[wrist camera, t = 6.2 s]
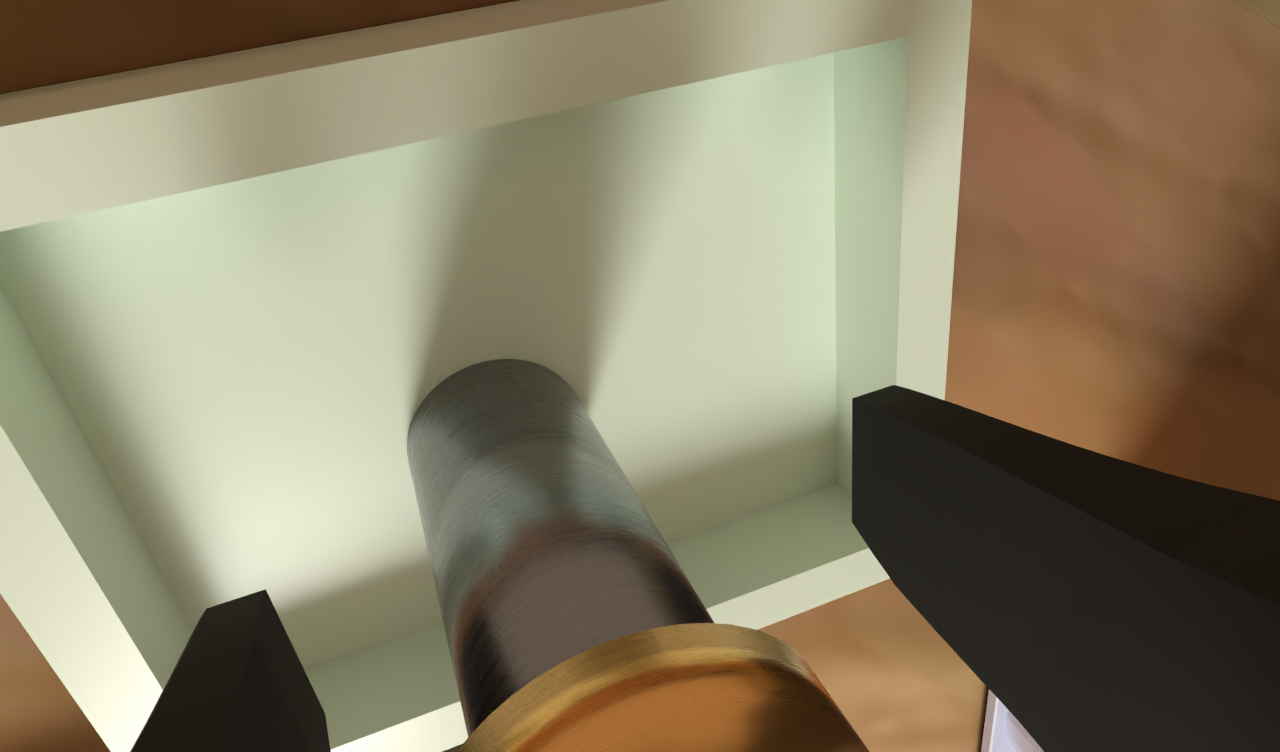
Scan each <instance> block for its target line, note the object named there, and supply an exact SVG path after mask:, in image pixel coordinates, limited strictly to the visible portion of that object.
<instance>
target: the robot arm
mask: <svg viewBox="0 0 1280 752" xmlns="http://www.w3.org/2000/svg"><path fill="white" fill-rule="evenodd" d="M852 523H853V525H854V526H855V528H856V529H857V531H858V532H859V534H860V535H861V537H862V538H863V540H864V541H865V543H866V544H867V546H868V547H869V549H870V550H871V552H872V553H873V555H874V556H875V558H876V559H877V560H878V562H879V563H880V565H881V566H882V567H883V569H884V570H885V572H886V573H887V574H888V576H889V577H890V579H891V580H892V581H893V583H894V584H895V585H896V586H897V588H898V589H899V590H900V591H901V592H902V593H903V595H904V596H905V597H906V598H907V599H908V600H909V601H910V602H911V604H912V605H913V606H914V607H915V608H916V609H917V610H918V611H919V612H920V614H921V615H922V616H923V617H924V618H925V619H926V620H927V621H928V622H929V624H930V625H931V626H932V627H933V628H934V629H935V630H936V631H937V633H938V634H939V635H940V636H941V637H942V638H943V639H944V640H945V641H946V642H947V643H948V645H949V646H950V647H951V648H952V649H953V650H954V651H955V652H956V653H957V654H958V655H959V657H960V658H961V659H962V660H963V661H964V662H965V663H966V664H967V665H968V666H969V667H970V669H971V670H972V671H973V672H974V673H975V674H976V675H977V676H978V677H979V678H980V680H981V681H982V682H983V683H984V684H985V685H986V686H987V687H988V688H989V693H988V701H987V709H986V716H985V724H984V732H983V740H982V748H981V752H1280V501H1277V500H1273V499H1268V498H1264V497H1260V496H1255V495H1251V494H1247V493H1242V492H1238V491H1234V490H1230V489H1225V488H1221V487H1217V486H1212V485H1208V484H1204V483H1200V482H1196V481H1192V480H1189V479H1185V478H1181V477H1177V476H1173V475H1170V474H1166V473H1163V472H1159V471H1156V470H1153V469H1149V468H1146V467H1142V466H1139V465H1136V464H1132V463H1129V462H1126V461H1122V460H1119V459H1115V458H1112V457H1109V456H1105V455H1102V454H1099V453H1096V452H1093V451H1090V450H1087V449H1084V448H1080V447H1077V446H1074V445H1071V444H1068V443H1065V442H1062V441H1059V440H1056V439H1053V438H1050V437H1048V436H1045V435H1042V434H1039V433H1036V432H1033V431H1030V430H1027V429H1024V428H1021V427H1019V426H1016V425H1013V424H1010V423H1007V422H1004V421H1001V420H999V419H996V418H993V417H990V416H987V415H985V414H982V413H979V412H976V411H973V410H970V409H968V408H965V407H962V406H959V405H956V404H953V403H950V402H948V401H945V400H942V399H939V398H936V397H933V396H930V395H927V394H924V393H921V392H917V391H914V390H911V389H907V388H904V387H900V386H897V385H891V386H888V387H885V388H882V389H879V390H876V391H873V392H870V393H867V394H864V395H861V396H858V397H855V398H852ZM130 752H331V751H330V744H329V737H328V730H327V723H326V716H325V712H324V710H323V708H322V706H321V704H320V702H319V700H318V698H317V696H316V693H315V691H314V689H313V687H312V685H311V683H310V681H309V679H308V677H307V675H306V673H305V670H304V668H303V666H302V664H301V662H300V660H299V658H298V656H297V654H296V652H295V649H294V647H293V645H292V643H291V641H290V639H289V637H288V635H287V633H286V631H285V629H284V626H283V624H282V622H281V620H280V618H279V616H278V614H277V612H276V610H275V608H274V605H273V603H272V601H271V599H270V597H269V595H268V593H267V591H266V589H265V590H262V591H259V592H256V593H253V594H249V595H246V596H243V597H240V598H237V599H234V600H231V601H228V602H225V603H222V604H219V605H216V606H213V607H210V608H206V610H205V612H204V613H203V615H202V616H201V618H200V620H199V621H198V623H197V625H196V627H195V629H194V631H193V633H192V635H191V637H190V639H189V640H188V642H187V644H186V646H185V648H184V650H183V652H182V654H181V656H180V658H179V660H178V662H177V664H176V666H175V668H174V670H173V672H172V674H171V676H170V678H169V680H168V682H167V684H166V686H165V688H164V689H163V691H162V693H161V695H160V697H159V699H158V701H157V703H156V705H155V707H154V709H153V710H152V712H151V714H150V716H149V718H148V720H147V722H146V724H145V726H144V728H143V729H142V731H141V733H140V735H139V737H138V738H137V740H136V742H135V744H134V746H133V747H132V749H131V751H130Z"/></svg>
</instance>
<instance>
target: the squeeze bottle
mask: <svg viewBox="0 0 1280 752" xmlns="http://www.w3.org/2000/svg"><path fill="white" fill-rule="evenodd" d="M1232 1H1233V2H1235V3H1237V4H1239V5H1240V6H1242V7H1244V8H1246V9H1247V10H1249V11H1251V12H1252V13H1254V14H1256V15H1258V16H1259V17H1261V18H1263V19H1265V20H1266V21H1268V22H1270V23H1272V24H1273V25H1275V26H1277V27H1279V28H1280V0H1232Z"/></svg>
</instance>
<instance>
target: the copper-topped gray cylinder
mask: <svg viewBox="0 0 1280 752" xmlns="http://www.w3.org/2000/svg"><path fill="white" fill-rule="evenodd" d="M407 456H408V462H409V467H410V471H411V476H412V480H413V485H414V490H415V494H416V499H417V504H418V508H419V513H420V517H421V522H422V527H423V531H424V536H425V540H426V545H427V550H428V554H429V559H430V564H431V568H432V573H433V577H434V582H435V587H436V591H437V596H438V600H439V605H440V610H441V614H442V619H443V624H444V628H445V633H446V637H447V642H448V647H449V651H450V656H451V660H452V665H453V670H454V674H455V679H456V684H457V688H458V693H459V697H460V702H461V707H462V711H463V716H464V720H465V725H466V730H467V734H468V738H467V739H466V741H465V742H464V744H463V745H462V746H461V748H460V749H459V750H458V752H869V751H868V749H867V748H866V746H865V745H864V743H863V742H862V741H861V739H860V738H859V736H858V735H857V733H856V732H855V731H854V729H853V728H852V726H851V725H850V723H849V722H848V720H847V719H846V718H845V716H844V715H843V713H842V712H841V710H840V709H839V708H838V706H837V705H836V703H835V702H834V700H833V699H832V698H831V696H830V695H829V693H828V692H827V690H826V689H825V688H824V686H823V685H822V683H821V682H820V680H819V679H818V678H817V676H816V675H815V673H814V672H813V670H812V669H811V668H810V666H809V665H808V664H807V662H806V661H805V660H804V658H803V657H802V656H800V655H799V654H798V653H797V652H796V651H795V650H794V649H792V648H791V647H790V646H789V645H787V644H785V643H784V642H782V641H780V640H778V639H777V638H775V637H773V636H771V635H768V634H765V633H763V632H760V631H757V630H755V629H751V628H746V627H741V626H736V625H731V624H717V623H714V621H713V620H712V618H711V616H710V615H709V613H708V611H707V610H706V608H705V606H704V605H703V603H702V601H701V600H700V598H699V597H698V595H697V593H696V592H695V590H694V588H693V587H692V585H691V583H690V582H689V580H688V578H687V577H686V575H685V573H684V572H683V570H682V568H681V567H680V565H679V563H678V562H677V560H676V559H675V557H674V555H673V554H672V552H671V550H670V549H669V547H668V545H667V544H666V542H665V540H664V539H663V537H662V535H661V534H660V532H659V530H658V529H657V527H656V526H655V524H654V522H653V521H652V519H651V517H650V516H649V514H648V512H647V511H646V509H645V507H644V506H643V504H642V502H641V501H640V499H639V497H638V496H637V494H636V492H635V491H634V489H633V488H632V486H631V484H630V483H629V481H628V479H627V478H626V476H625V474H624V473H623V471H622V469H621V468H620V466H619V464H618V463H617V461H616V459H615V458H614V456H613V454H612V453H611V451H610V450H609V448H608V446H607V445H606V443H605V441H604V440H603V438H602V436H601V435H600V433H599V431H598V430H597V428H596V426H595V425H594V423H593V421H592V420H591V418H590V416H589V415H588V413H587V412H586V410H585V408H584V407H583V405H582V403H581V402H580V400H579V398H578V397H577V395H576V393H575V392H574V390H573V389H572V388H571V387H570V385H569V384H568V383H567V382H566V381H565V380H564V379H563V378H562V377H561V376H559V375H558V374H556V373H555V372H554V371H552V370H550V369H548V368H546V367H544V366H542V365H539V364H536V363H533V362H529V361H524V360H517V359H496V360H490V361H484V362H481V363H477V364H473V365H471V366H468V367H466V368H464V369H461V370H459V371H458V372H456V373H454V374H452V375H450V376H449V377H447V378H446V379H445V380H443V381H442V382H440V383H439V384H438V385H437V386H436V387H435V388H434V389H433V390H432V391H431V392H430V393H429V394H428V395H427V396H426V398H425V399H424V400H423V401H422V403H421V404H420V406H419V407H418V409H417V411H416V413H415V415H414V417H413V419H412V422H411V425H410V428H409V432H408V438H407Z"/></svg>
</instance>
